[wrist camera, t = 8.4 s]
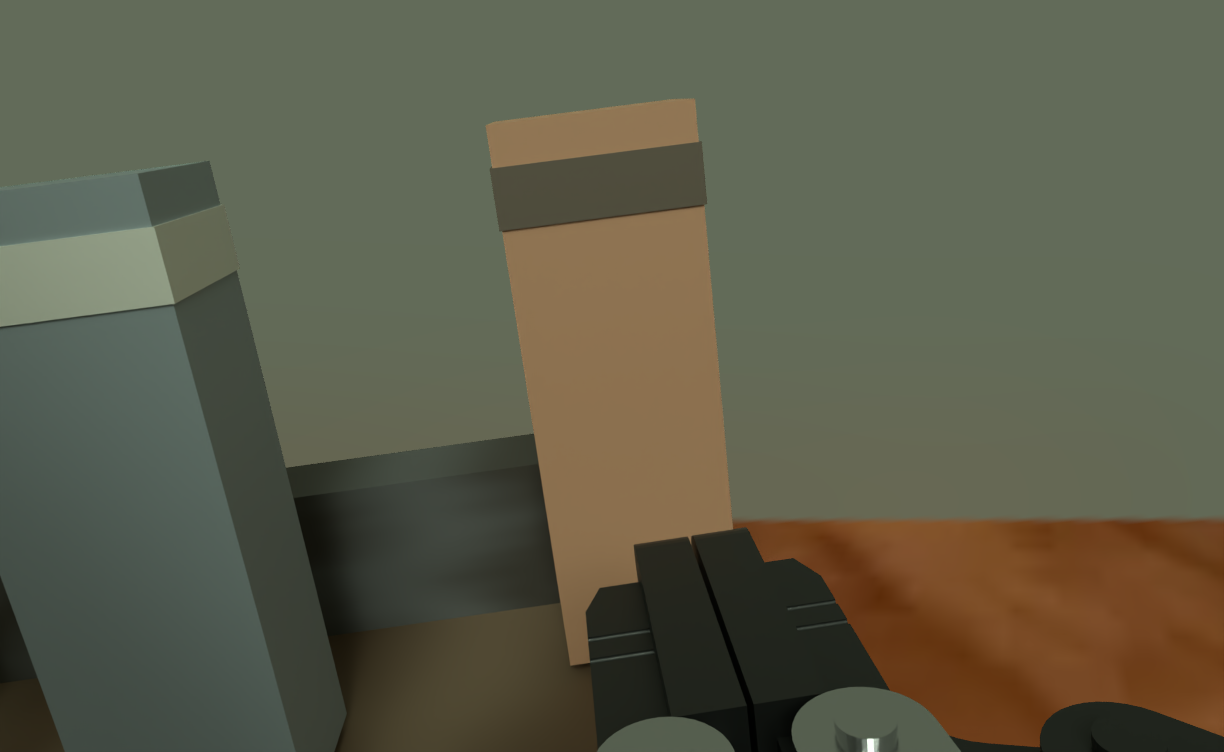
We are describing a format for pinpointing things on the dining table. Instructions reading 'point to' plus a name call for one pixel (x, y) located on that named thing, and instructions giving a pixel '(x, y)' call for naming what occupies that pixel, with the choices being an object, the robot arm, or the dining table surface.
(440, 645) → the dark grey block stand
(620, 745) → the robot arm
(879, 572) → the dining table surface
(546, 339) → the tan tall block
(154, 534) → the slate key
